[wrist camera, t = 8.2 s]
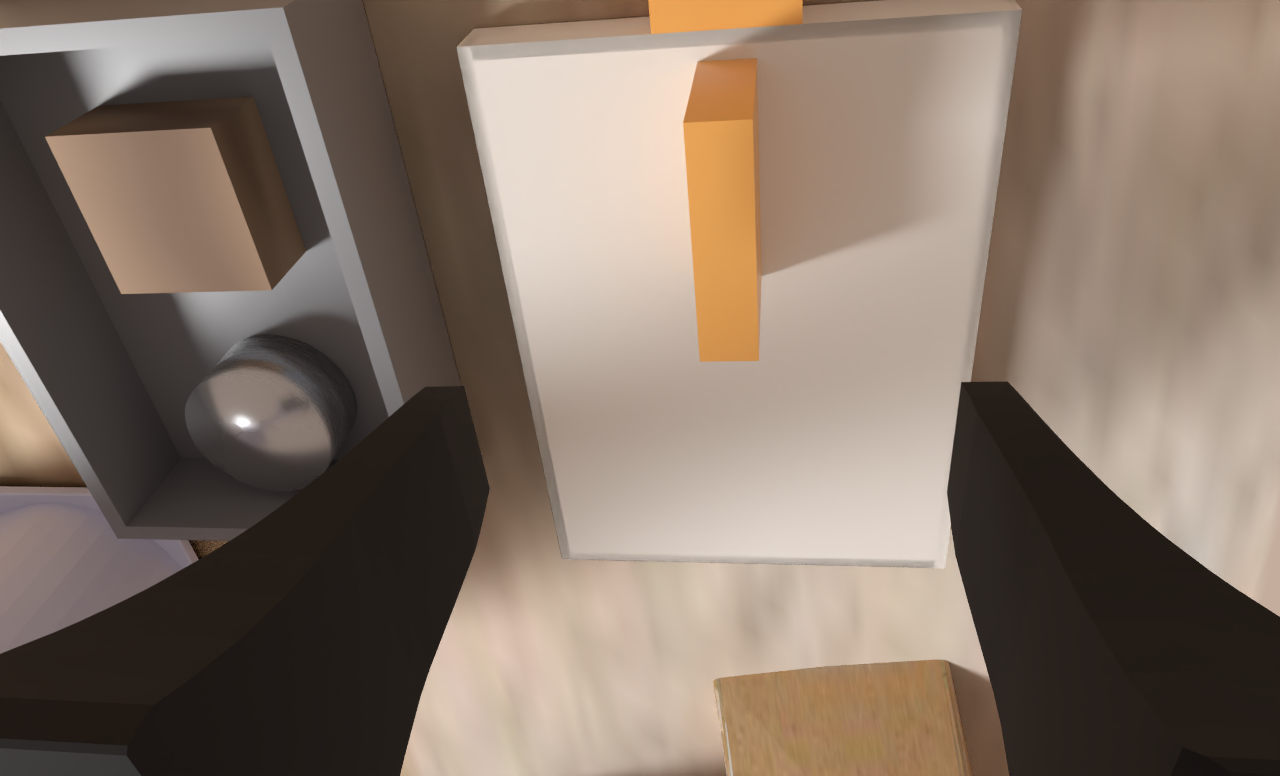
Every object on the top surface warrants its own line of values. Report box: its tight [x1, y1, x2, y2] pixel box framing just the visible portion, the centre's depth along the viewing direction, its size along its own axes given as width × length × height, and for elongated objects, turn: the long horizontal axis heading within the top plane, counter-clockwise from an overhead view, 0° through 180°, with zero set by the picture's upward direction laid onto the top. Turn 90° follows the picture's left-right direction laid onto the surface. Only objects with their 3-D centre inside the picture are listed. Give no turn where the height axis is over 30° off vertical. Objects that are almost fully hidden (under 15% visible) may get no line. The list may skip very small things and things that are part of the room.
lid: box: [456, 0, 1022, 568], centre depth 21 cm, size 11×17×5 cm, turn 6°
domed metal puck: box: [185, 335, 357, 491], centre depth 26 cm, size 4×4×2 cm
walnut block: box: [45, 97, 306, 294], centre depth 22 cm, size 4×4×2 cm
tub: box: [0, 0, 461, 541], centre depth 23 cm, size 10×14×4 cm
